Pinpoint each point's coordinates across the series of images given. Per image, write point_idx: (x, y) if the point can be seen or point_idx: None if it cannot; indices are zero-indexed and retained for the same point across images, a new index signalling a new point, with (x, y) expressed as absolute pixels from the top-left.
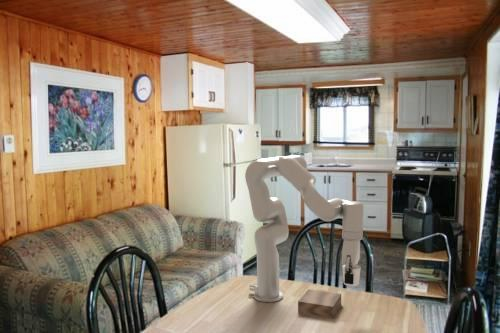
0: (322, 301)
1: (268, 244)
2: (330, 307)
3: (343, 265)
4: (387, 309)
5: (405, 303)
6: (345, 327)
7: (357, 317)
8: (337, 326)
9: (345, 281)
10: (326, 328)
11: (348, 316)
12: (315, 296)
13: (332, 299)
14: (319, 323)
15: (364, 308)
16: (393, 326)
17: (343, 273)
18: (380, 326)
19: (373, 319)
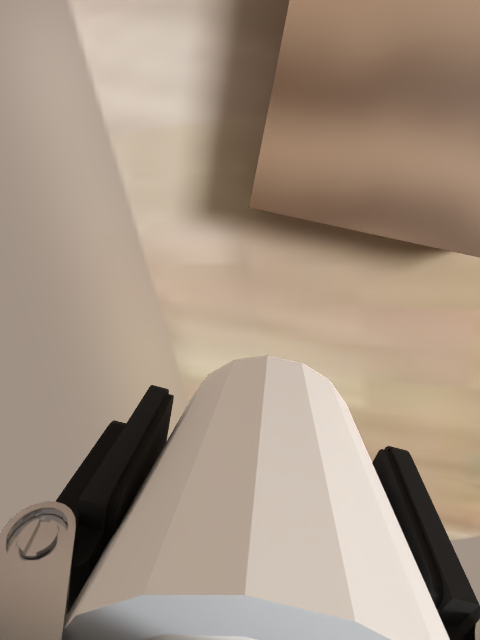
0: (342, 112)
1: None
2: (253, 188)
3: (232, 621)
4: None
5: (461, 526)
6: (160, 271)
7: (286, 330)
8: (160, 232)
9: (145, 405)
10: (120, 172)
11: (292, 288)
12: (465, 22)
13: (389, 197)
14: (169, 122)
15: (403, 368)
16: None
17: (197, 450)
18: None
19: None
